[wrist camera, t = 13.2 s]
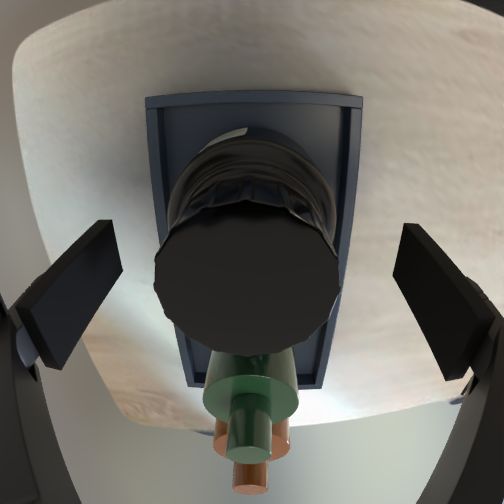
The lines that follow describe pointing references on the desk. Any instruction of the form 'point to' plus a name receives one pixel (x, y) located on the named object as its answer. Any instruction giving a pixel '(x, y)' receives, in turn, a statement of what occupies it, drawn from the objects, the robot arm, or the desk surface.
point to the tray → (289, 124)
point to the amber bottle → (253, 475)
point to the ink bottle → (249, 246)
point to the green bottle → (251, 399)
